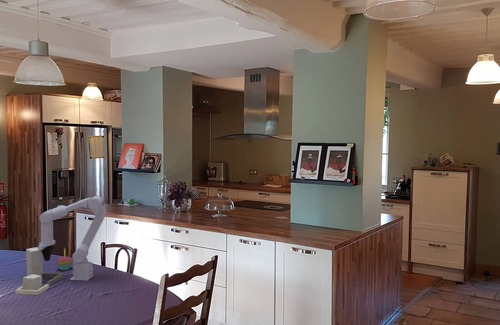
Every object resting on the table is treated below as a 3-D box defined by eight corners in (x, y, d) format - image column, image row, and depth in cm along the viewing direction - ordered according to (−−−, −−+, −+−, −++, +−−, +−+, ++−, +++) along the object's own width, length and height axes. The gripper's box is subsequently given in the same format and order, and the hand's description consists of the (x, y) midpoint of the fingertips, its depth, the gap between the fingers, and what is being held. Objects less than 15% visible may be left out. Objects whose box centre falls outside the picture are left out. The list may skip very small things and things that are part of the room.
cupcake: (56, 268, 253) (56, 247, 252) (72, 266, 256) (72, 245, 256) (56, 272, 245) (56, 250, 244) (73, 270, 249) (73, 249, 248)
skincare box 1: (43, 277, 235) (43, 249, 235) (31, 279, 231) (31, 251, 231) (37, 273, 241) (37, 246, 241) (25, 275, 237) (25, 248, 237)
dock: (63, 277, 235) (63, 273, 235) (48, 287, 220) (48, 282, 220) (43, 277, 236) (43, 272, 235) (27, 286, 221) (27, 281, 220)
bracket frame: (49, 288, 218) (48, 284, 218) (37, 295, 208) (37, 291, 208) (27, 287, 219) (27, 283, 219) (15, 294, 209) (15, 290, 209)
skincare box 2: (33, 288, 217) (33, 273, 217) (42, 290, 215) (42, 275, 215) (22, 292, 212) (22, 277, 211) (31, 294, 209) (31, 278, 209)
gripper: (45, 231, 238) (46, 256, 239) (32, 237, 223) (32, 264, 224) (59, 231, 238) (59, 257, 238) (46, 237, 223) (46, 264, 224)
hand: (47, 260), depth 231 cm, fingers closed
